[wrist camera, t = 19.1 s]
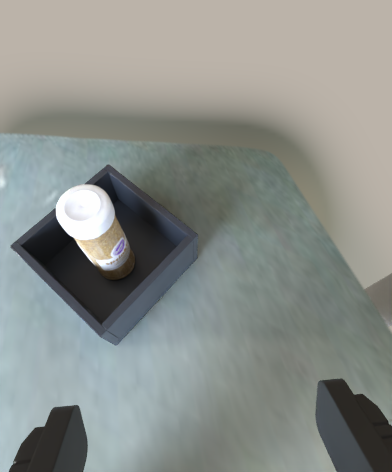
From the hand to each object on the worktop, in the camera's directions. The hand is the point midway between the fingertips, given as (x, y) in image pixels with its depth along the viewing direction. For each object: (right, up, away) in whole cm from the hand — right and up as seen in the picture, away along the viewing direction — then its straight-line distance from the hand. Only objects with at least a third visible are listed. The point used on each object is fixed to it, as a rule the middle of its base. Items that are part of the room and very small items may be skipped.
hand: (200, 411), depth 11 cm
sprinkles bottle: (-10, +3, +29) cm, 30 cm away
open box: (-10, +3, +29) cm, 31 cm away
